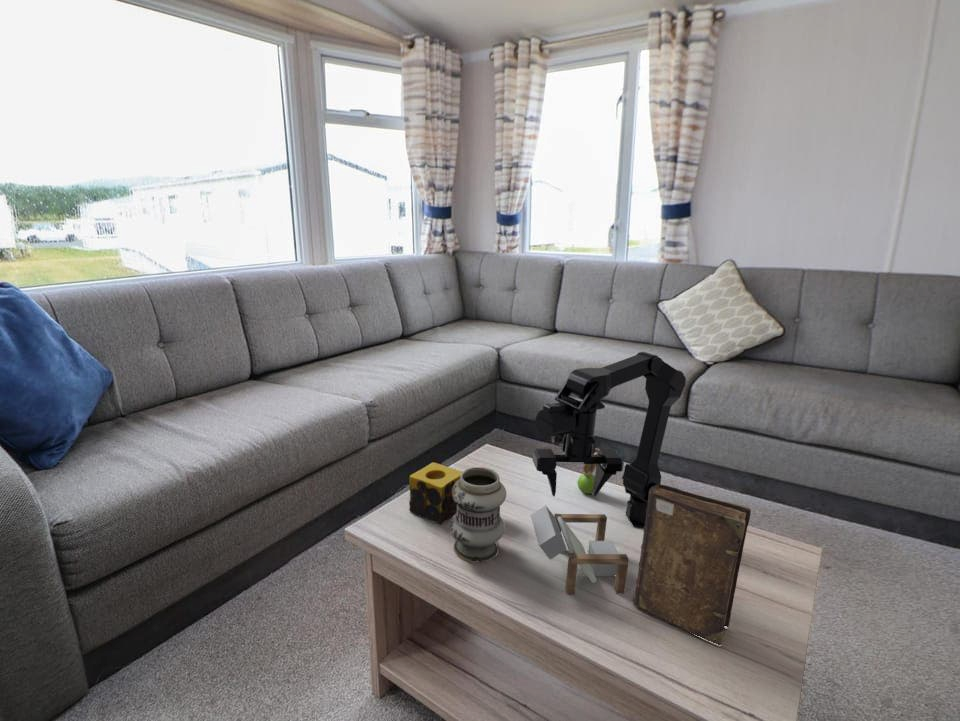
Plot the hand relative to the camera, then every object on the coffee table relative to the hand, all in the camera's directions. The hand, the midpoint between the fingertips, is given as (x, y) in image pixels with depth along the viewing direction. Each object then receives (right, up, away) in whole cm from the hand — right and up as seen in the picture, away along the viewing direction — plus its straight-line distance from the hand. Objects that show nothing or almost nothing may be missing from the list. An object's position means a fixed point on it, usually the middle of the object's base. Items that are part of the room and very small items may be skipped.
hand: (573, 495), depth 115 cm
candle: (-31, -8, +16) cm, 36 cm away
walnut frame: (+2, -15, -4) cm, 15 cm away
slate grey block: (+3, -12, -4) cm, 13 cm away
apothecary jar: (-22, -12, +1) cm, 25 cm away
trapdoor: (-5, -11, -5) cm, 13 cm away
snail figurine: (+9, -6, +28) cm, 31 cm away
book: (+17, -19, -16) cm, 30 cm away
